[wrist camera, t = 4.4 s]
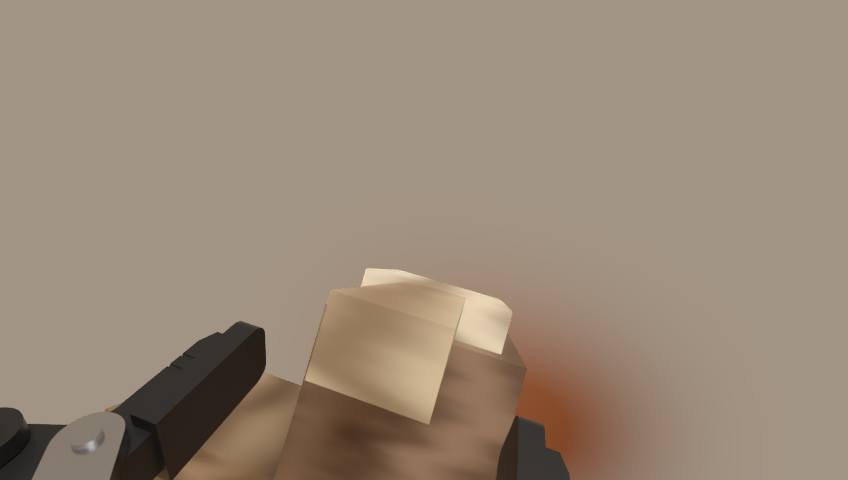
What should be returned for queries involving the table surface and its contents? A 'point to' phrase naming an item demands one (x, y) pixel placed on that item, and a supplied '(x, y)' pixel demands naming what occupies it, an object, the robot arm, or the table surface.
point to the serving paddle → (400, 338)
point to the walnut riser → (368, 429)
